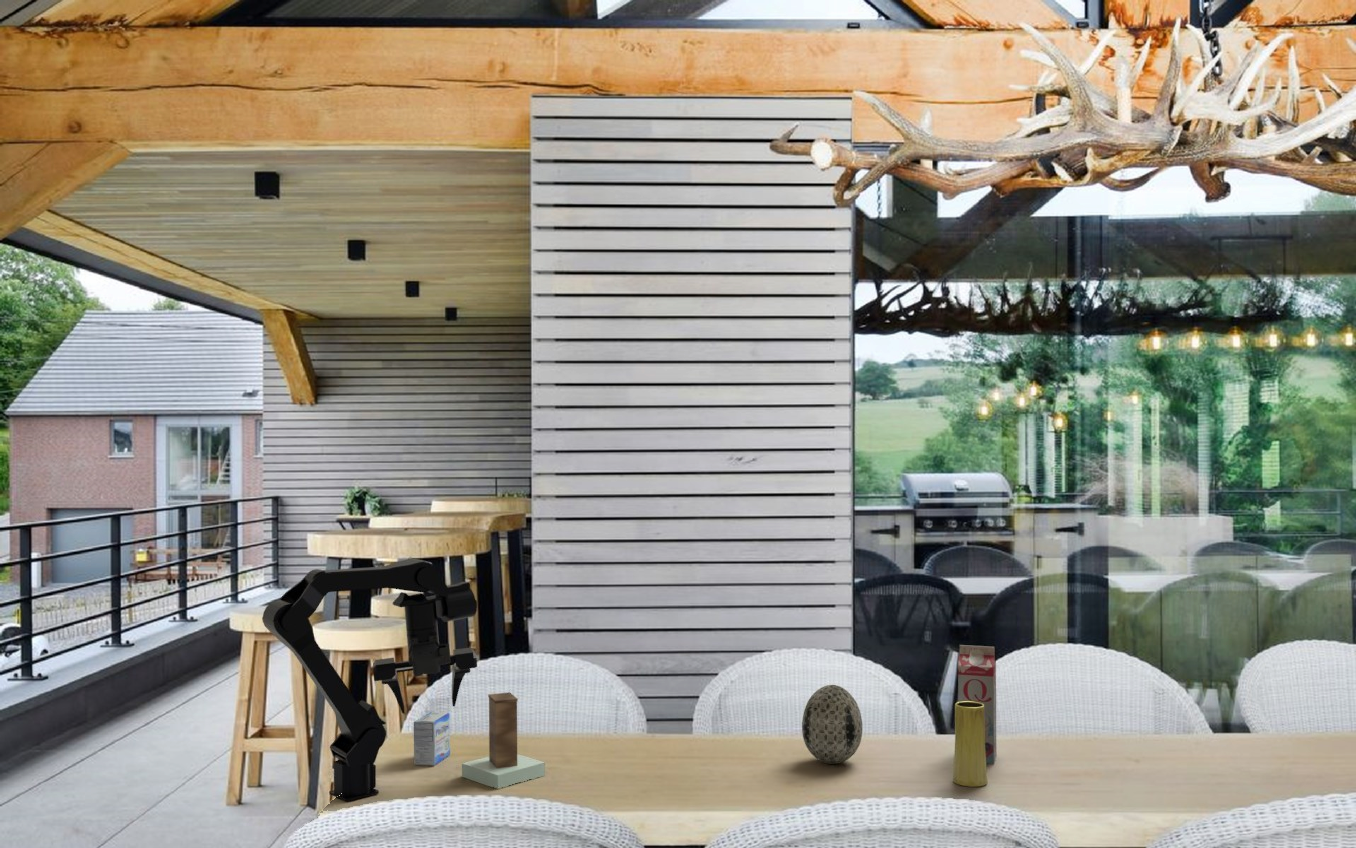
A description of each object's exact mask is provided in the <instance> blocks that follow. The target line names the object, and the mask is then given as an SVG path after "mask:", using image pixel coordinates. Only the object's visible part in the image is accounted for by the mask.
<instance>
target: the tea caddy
mask: <svg viewBox="0 0 1356 848" xmlns="http://www.w3.org/2000/svg"><path fill="white" fill-rule="evenodd" d="M487 698H488V737H489V738H488V740H489V741H488V746H489V753H488V754H489V755H488V757H489V761H490V762H491V763H492V764H493V765H494V766H495V767H496V768H503V767H511V766H517V754H518V701H519V700H518V699H519V698H517V697H516V696H515V695H514V694H513V693H512V692H500V693H491V694H490V693H489V694H488V695H487Z"/></svg>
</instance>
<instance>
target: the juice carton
mask: <svg viewBox="0 0 1356 848" xmlns="http://www.w3.org/2000/svg"><path fill="white" fill-rule="evenodd" d="M995 652H996V651H995V646H989V645H988V646H987V645H986V646H984V645H967V644H966V645H965V644H959V656H958V663H957V671H958V672H957V676H958V679H957V680H958V681H957V682H958V683H957V684H958V686H957V691H958V692H957V694H958V696H957V697H958V701H957V702H960V701H974V702H979V703H982V704H984V721H985V754H986V764H990V765H991V764H992V765H995V762H996V757H997V679H996V678H997V662H996V657H995Z"/></svg>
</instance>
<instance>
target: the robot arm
mask: <svg viewBox="0 0 1356 848" xmlns="http://www.w3.org/2000/svg"><path fill="white" fill-rule="evenodd" d="M379 589H380V590H381V589H391V590H392V589H394V590H399V591H400V593H399V594H398V596H397V597H396V598H395V599H394V601H393V602H392V605H393V606H395V607H398V608H404V616H405V617H404V618H405V627H406V628H405V629H406V630H405V631H406V643H407V651H408V652H407V653H408V660H402V661H395V657H387V658H380V659H375V660H374V661H373V662H372V670H373V671H372V672H373V680H374V681H375V682H376V681H377V682H380V681H381V684H382V685H387V686H388V687H389V688H390V689H391V691H392V693H393V694H394V696H395V699H396V701H397V704H398V707H399V708H400V711H401V713H402V714H403V715H404V714H405V713H406V712H405V704H404V699H403V694H402V690H401V685H400V681H399V677H398V673H404V672H411V671H413V672H412V673H413V675H414V676H416V677H422V676H423V675H429V674H433V675H436V674H439V673H440V672H441V667H448V666H450V667H451V666H452V669H451V670H452V671H451V704H452V707H455V706H456V704H457V703H456V702H457V699H458V696H459V695H458V694H459V691H460V687H461V683H462V681H463V679H464V677H465V675H466V674H469V673H471V669H476V668H478V660H477V659H478V657H477V653H476V651H475V649H474V648H472V647H465V648H464V647H463V648H457V649H456V648H455V649H452V654H450V653H451V651H450V644H449V643H442V644H440V641H439V640H440V638H439V629H438V628H439V627H438V619H441V620H442V622H443V623H444V622H445V623H448V622H453V621H459V620H464V619H468V618H473V617H475V616H476V614H477V610H478V600H476V597H475V594H474V591H473V590H472V588H471V583H470V582H468V581H460V582H458V583H455V584H450V585H446V583H444V581H443V580H442V578H440V577H439V575H438V570H437V567H436V566H435V565H434V564H433V563H432V562H430V561H426V560H422V559H418V558H407V559H403V560H399V561H396V562H393V563H390V564H387V565H383V566H374V567H355V568H341V569H340V568H337V569H319V568H318V569H317V568H315V569H312V570H310V571H309V572H308V573H307V574H306V575H305V576H304V577H303V578H302V579H301V580H300V581H298V582H296V584H295V585H293V586H292V587H291V588H290V589H288V590H287V591H286V592H285V593H283V594H282V596H280V598H278V600H273V601H272V602H270V603H269V604H268V605H267V606H266V607H265V609H264V611H263V614H262V617H261V620H262V623H263V625H264V627H265V628H266V629H267V631H268V632H270V633H271V634H272V636H274V637H275V638H276V639H277V640H278V641H280V643H282V644H283V645H284V646H285V647H286V648H288V649H289V650H290V651H291V652H292V653H293V655H294V656H295V657H296V659H297V660H298V662H299V663H300V664H301V666H302V667H303V669H304V670H305V672H306V673H307V675H308V676H309V678H310V679H311V680H312V682H313V683H314V685H315V686H316V687H317V689H318V690H319V692H320V693H321V695H322V696H323V698H324V699H325V700H326V702H327V703H328V705H329V706H330V708H331V709H332V711H333V712H334V715H335V719H336V723H337V727H338V728H339V731H340V734H339V735H338V736H337V737H336V738H335V740H333V742H331V744H330V746H329V750H330V752H331V755H332V756H333V757H334V758H336V760H335V761H333V790H329V792H328V793H329V795H331V796H333V797H335V798H338V799H340V800H343V801H345V802H351V801H355V800H359V799H362V798H365V797H369V796H373V795H372V794H374V795H377V794H379V789H377V788H376V787H377V779H376V778H377V776H376V775H377V773H376V772H377V771H376V768H377V766H376V765H375V764H374V763H375V762H376V760H377V758H378V754H379V750H380V749H381V747H383V746H384V743H385V740H386V737H387V731H386V728H385V726H384V725H386V724H387V723H386V721H384V720H382V719H381V717H380V715H379V713H378V710H377V709H376V708H375V706H374V705H373V704H370V703H368V702H366V701H364V700H362V699H361V700H360V701H359V702H358V701H357V699H356V698H355V696H354V695H353V694H352V692H351V691H350V689H349V688H348V687H347V685H346V684H345V682H344V681H343V679H342V678H341V676H340V675H339V673H338V671H337V670H336V669H335V667H334V666H333V665H332V663H331V662H330V660H329V658H328V657H327V655H326V654H325V653H324V651H323V650H322V648H321V647H320V646H319V643H317V641H316V637H315V634H314V633H315V632H314V628H313V626H312V624H311V622H310V617H311V616H312V615H313V614H314V613H315V612H316V611H317V610H318V608H319V605H321V602H322V601H323V600H324V597H326V596H327V594H328V593H334V592H349V591H364V590H379ZM402 591H407V592H417V593H415V594H414V593H413V594H409V595H408V593H406V592H402ZM424 593H430V594H434V595H430V596H429V595H428V596H426V595H425V594H424ZM341 793H342V794H341ZM339 795H340V796H339ZM337 796H338V797H337Z"/></svg>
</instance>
